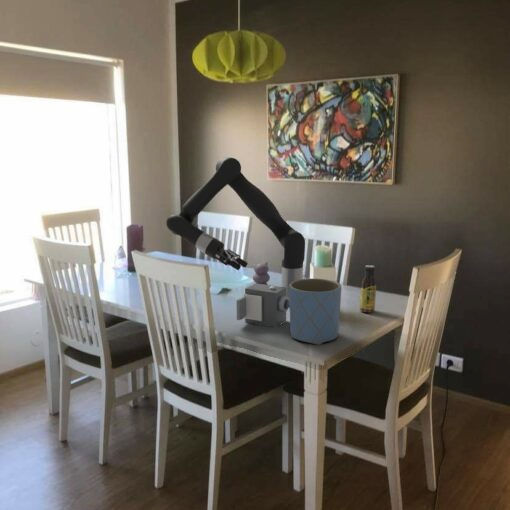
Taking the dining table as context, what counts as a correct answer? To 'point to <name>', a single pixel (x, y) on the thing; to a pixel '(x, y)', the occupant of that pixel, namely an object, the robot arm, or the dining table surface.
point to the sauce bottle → (368, 290)
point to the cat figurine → (261, 273)
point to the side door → (249, 307)
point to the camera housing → (270, 303)
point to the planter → (314, 310)
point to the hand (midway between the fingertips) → (243, 266)
